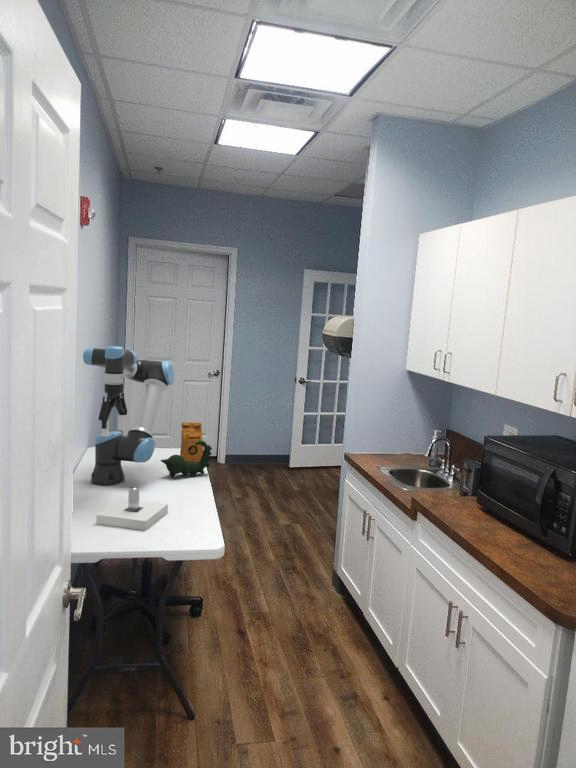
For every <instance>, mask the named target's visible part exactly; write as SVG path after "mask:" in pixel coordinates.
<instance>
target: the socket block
mask: <svg viewBox="0 0 576 768" xmlns="http://www.w3.org/2000/svg"><path fill="white" fill-rule="evenodd" d="M168 506H169V503H162V502H155V501H146V500H140V499H139V512H129V511H128V498H124V497H123V498H121V499H119V500H117V501H116V502H114V503H113V504H111V505H110V506H108V507H106V508H105V509H103V510H101V511H100V512H98V513H97V514H96V517H95V518H96V519H95V521H96V524H97V525H105V526H112V527H118V528H126V529H133V530H142V531H147V530H149V528H150V527H152V526H153V525H155V523H156V522H158V521H159V520H160V519H161V518H163V517H164V516H165V515H166V514H168V511H169V510H168ZM157 520H158V521H157Z"/></svg>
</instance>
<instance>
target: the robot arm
mask: <svg viewBox="0 0 576 768" xmlns="http://www.w3.org/2000/svg"><path fill="white" fill-rule="evenodd" d="M82 359H83V363H84V364H85V365H87V366H96V367H99V368H103V369H104V383H105V384H104V393H105V394H107V396H103V397H102V403H101V406H100V412H99V415H98V421H101V433H98V434H96V437H95V443H94V444H95V445H94V446H95V447H94V451H95V455H94V457H95V459H94V460H95V462H94V468H93V470H92V473H91V476H90V482H91V483H92V484H95V485H98V486H112V485H118V484H122V483H123V482H125V481H126V480H125V477H126V476H125V472H124V468H123V467H122V461H123V462H129V463H130V462H131V463H132V462H133V463H137V464H139V463H147V462H149V460H150V459H151V458H152V456H153V454H154V452H155V445H156V443H155V440H154V438H153V437H154V436H153V435H152V429H153V426H154V422H155V419H156V415H157V412H158V408H159V407H160V406H159V405H160V403H161V398H162V395H163V392H165V391H166V390H167V388H168V386H172V384H173V383H174V381H175V372H174V367H173V366H174V365H172V363H171V362H170V361H164V360H162V361H160V360H149V359H147V360H146V359H138V356H137V354H136V352H135V351H133V349H132V350H131V349H124V347H122V346H113V345H111V346H110V345H109V346H106V347H105V348H97V347H87V348H85V349H84V351H83V354H82ZM124 378H125V379H128V380H131V381H134V382H137V383H142V384H143V385H144V386H145V388H144V390H143V395H142V398H141V400H140V404H139V406H138V407H139V408H138V410H137V412H136V413H137V414H136V417H135V420H134V423H133V427H132V428H131V429H129V430H128V431H127V434H126V435H123V433H122V432H121V431H125V416H127V414H128V408H127V404H126V399H125V393H124V384H123V383H124ZM114 407H115V408H116V411H117V413H118V415H117V430H118V431H115V430H114V431H109V430H110V428H109V427H110V425H109V424H110V422H109V421H110V420H109V418H110V415H111V412H112V409H113V408H114Z"/></svg>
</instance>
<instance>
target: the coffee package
mask: <svg viewBox="0 0 576 768" xmlns="http://www.w3.org/2000/svg"><path fill="white" fill-rule="evenodd" d="M202 432H203V429H202V422H201V421H200V422H182V423H181V438H180V439H181V440H180V441H181V442H180V451H179V452H180V453H179V455H180V456H182V457H183V458H184V459H185V461H189V462H191V463H198V462H199V461H200V460H201V456H202V455H203V451H204V447H203V446H202V445H200V444H199V445H196V446H195V444H196V443H197V442H198V441H203V433H202Z"/></svg>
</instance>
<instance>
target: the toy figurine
mask: <svg viewBox="0 0 576 768" xmlns="http://www.w3.org/2000/svg"><path fill="white" fill-rule="evenodd" d="M199 444H200V445H202V446H203V455H202V456H201V460H200V461H199V462H189V461H185V459H184V458H183V457H182V456H180V454H172V455H171V456H169V457H168V458H164V459H160V462H161V463H162V464H164V465H166V466H165V467H166V469H167V471H168V472H169V473H168V475H169V477H170V478H175V477H176V475H178V474H182V475H183V476H184V478H186V477H189V475H190V476H192V477H194V478H195V477H196V476H197V474H198V473H199V474H201V475H204V474H205V471H204V469H206V468H210V467H211V465H210V463H208V462H211V461H212V460H211V459H212V458H210V456H212V452H211V451H212V449H213V448H212V447H211V445H209V444H207V442H206V441H205V440H202V441H198V442H197V443H196V444H195V446H196V445H199Z"/></svg>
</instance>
